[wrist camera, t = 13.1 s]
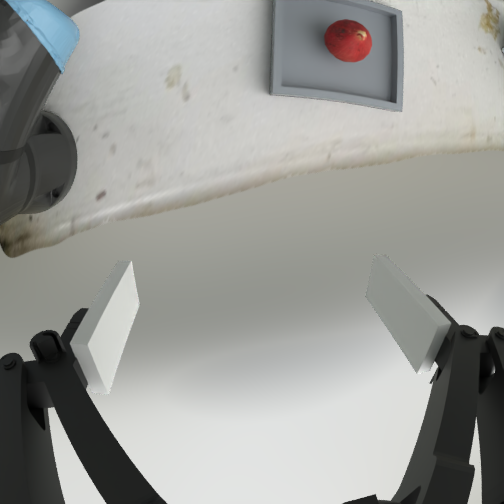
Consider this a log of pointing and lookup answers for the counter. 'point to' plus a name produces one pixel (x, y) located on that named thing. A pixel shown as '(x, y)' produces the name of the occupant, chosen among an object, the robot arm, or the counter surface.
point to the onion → (348, 40)
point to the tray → (326, 65)
